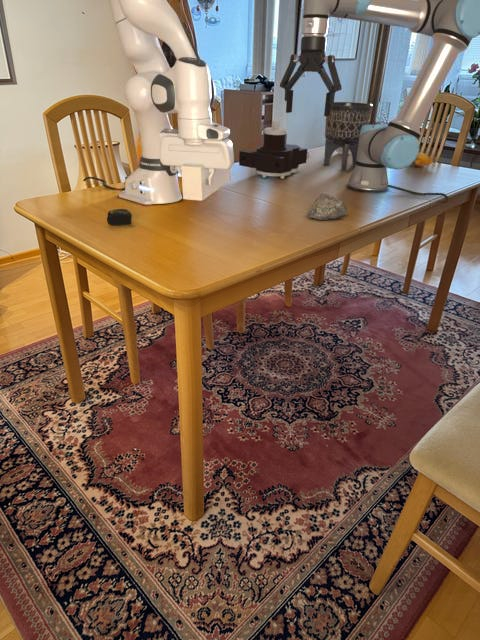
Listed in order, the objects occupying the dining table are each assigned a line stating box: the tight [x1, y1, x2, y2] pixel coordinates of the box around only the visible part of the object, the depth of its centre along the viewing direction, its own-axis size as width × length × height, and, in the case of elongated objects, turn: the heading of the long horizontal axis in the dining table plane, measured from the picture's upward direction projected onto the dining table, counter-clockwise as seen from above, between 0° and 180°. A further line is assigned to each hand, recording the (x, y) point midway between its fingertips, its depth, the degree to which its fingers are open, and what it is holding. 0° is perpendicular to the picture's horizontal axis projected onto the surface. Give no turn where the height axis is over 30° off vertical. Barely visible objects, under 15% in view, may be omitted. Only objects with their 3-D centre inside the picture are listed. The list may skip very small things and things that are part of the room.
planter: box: [323, 101, 374, 172], centre depth 204 cm, size 20×20×26 cm
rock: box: [307, 192, 348, 221], centre depth 142 cm, size 13×9×6 cm, turn 131°
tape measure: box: [106, 208, 133, 227], centre depth 132 cm, size 7×7×4 cm
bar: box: [181, 165, 232, 202], centre depth 131 cm, size 25×6×9 cm, turn 163°
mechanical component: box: [238, 120, 311, 179], centre depth 191 cm, size 22×21×30 cm
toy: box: [411, 151, 434, 168], centre depth 216 cm, size 11×6×15 cm
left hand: (197, 183), depth 125 cm, fingers closed on bar, 5 cm apart
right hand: (307, 114), depth 145 cm, fingers open, 13 cm apart
